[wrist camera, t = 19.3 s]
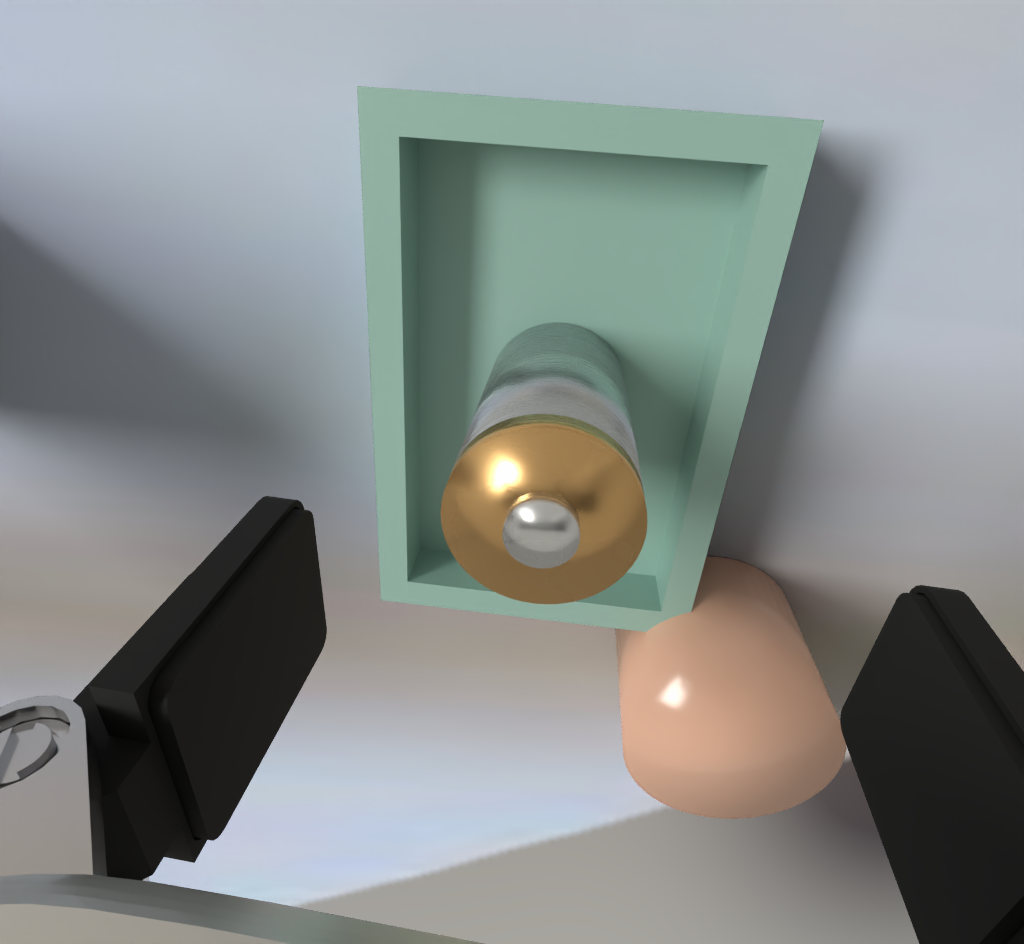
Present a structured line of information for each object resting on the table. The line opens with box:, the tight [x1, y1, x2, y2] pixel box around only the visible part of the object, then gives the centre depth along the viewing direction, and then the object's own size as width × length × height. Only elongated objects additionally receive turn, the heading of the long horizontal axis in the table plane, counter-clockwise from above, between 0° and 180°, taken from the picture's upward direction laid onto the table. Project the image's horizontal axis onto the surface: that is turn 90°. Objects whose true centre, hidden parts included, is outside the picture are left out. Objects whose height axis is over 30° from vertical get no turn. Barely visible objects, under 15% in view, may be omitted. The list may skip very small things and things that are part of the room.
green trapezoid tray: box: [357, 86, 824, 632], centre depth 20 cm, size 11×16×3 cm
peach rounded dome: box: [615, 556, 846, 819], centre depth 23 cm, size 7×7×6 cm
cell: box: [441, 322, 648, 604], centre depth 17 cm, size 4×4×8 cm
